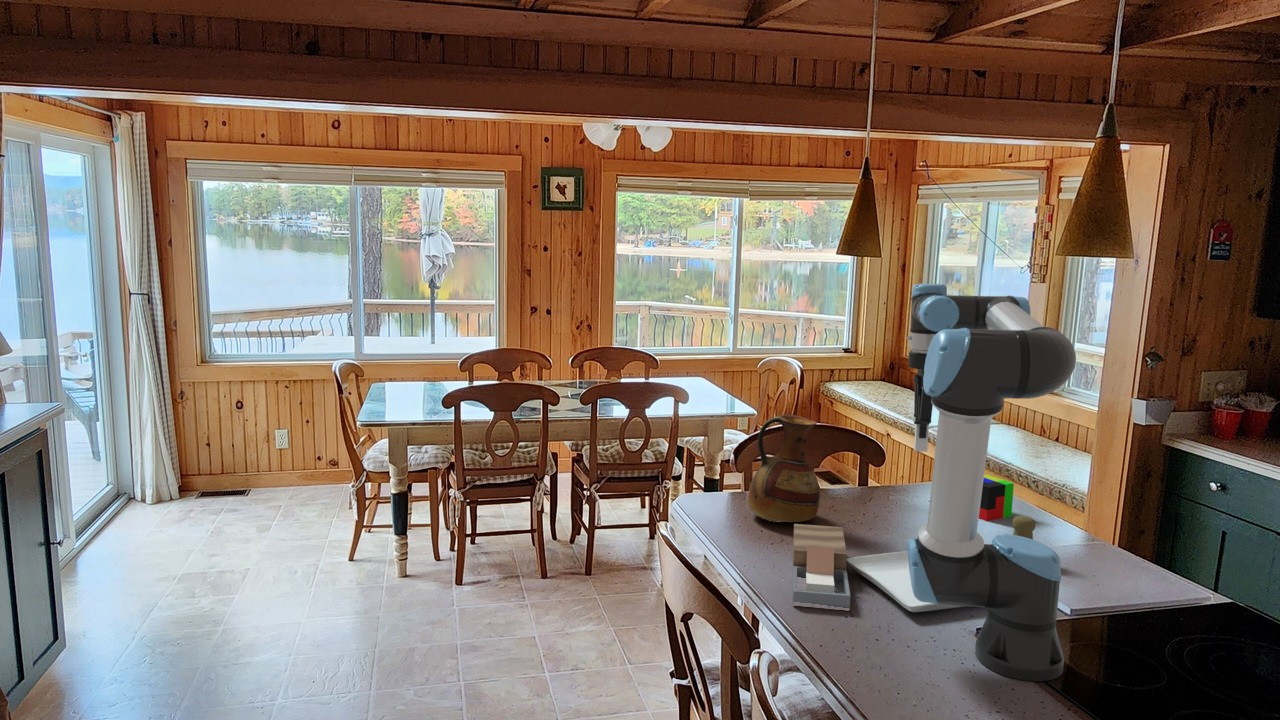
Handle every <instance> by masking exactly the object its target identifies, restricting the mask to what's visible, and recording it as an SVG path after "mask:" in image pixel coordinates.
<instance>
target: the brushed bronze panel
mask: <svg viewBox="0 0 1280 720" xmlns="http://www.w3.org/2000/svg"><path fill="white" fill-rule="evenodd" d="M845 541H846V540H845V535H844V530H843V526H830V525H829V526H827V525H815V524H814V525H813V524H802V523H800V524H799V523H794V524H793V542H792V543H793V544H792V548H793V549H792V563H793V564H792V567H793V566H800V567H806V565H807V546H819V547H833V548H834V569H839V570H846V571H847V561H846V560H847V558H848V557H847V556H848V553H847V547H846V542H845Z"/></svg>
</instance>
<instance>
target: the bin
mask: <svg viewBox="0 0 1280 720" xmlns="http://www.w3.org/2000/svg"><path fill="white" fill-rule="evenodd" d="M797 577H801V578H806V567H800V566H793V565H792V603H793V602H800V603H811V604H819V605H827V606H834V607H843V608H850V609H851V592H850V590H851V589H850V585H849V579H848V572H847V569H846V570H839V569H834V575H833V577H834V589H835V588H836V589H835V590H836V591H835V590H834V592H835V593H827V592H815V591H803V590H797ZM837 590H838V591H837Z"/></svg>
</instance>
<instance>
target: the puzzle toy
mask: <svg viewBox="0 0 1280 720" xmlns="http://www.w3.org/2000/svg"><path fill="white" fill-rule="evenodd" d="M1014 486H1015V485H1014V482H1011V481H1009V480H1005V479H1002V478H999V477H997V476H996V477H995V476H993V475H990V474H985V473H984V480H983V488H982V496H981V504H980V511H979V519H980V520H981V521H984V522H990V521H994V520H996V521H997V520H1000V519H1004V518H1010V517H1012V516H1013V515H1012V513H1013V503H1014V502H1013V501H1014ZM979 519H978V520H979Z"/></svg>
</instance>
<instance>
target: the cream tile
mask: <svg viewBox="0 0 1280 720" xmlns="http://www.w3.org/2000/svg"><path fill="white" fill-rule="evenodd" d="M806 591H815V592H827V593H834V577H833V575H832V574H820V573H807V572H806Z"/></svg>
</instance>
